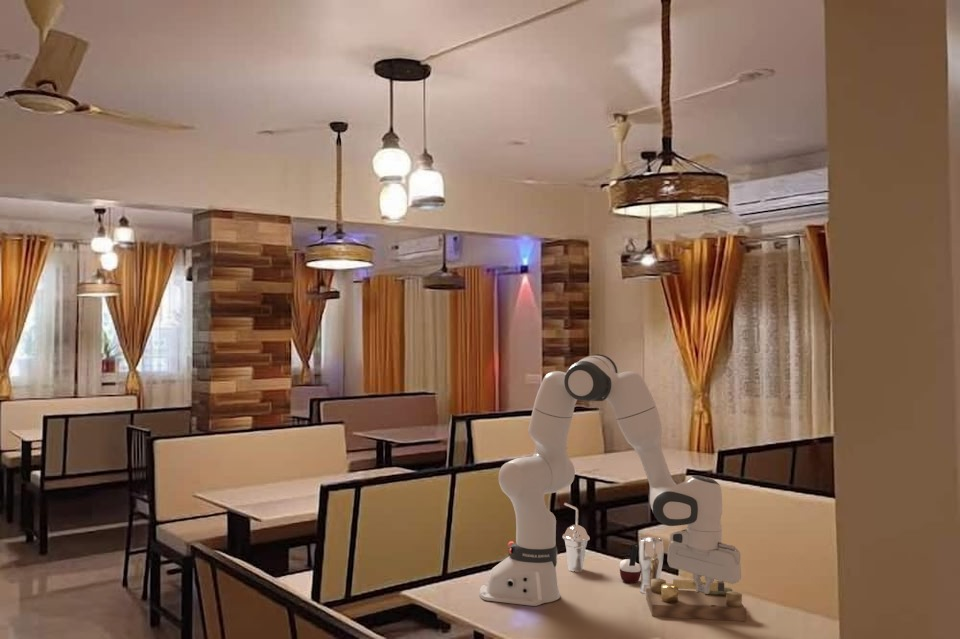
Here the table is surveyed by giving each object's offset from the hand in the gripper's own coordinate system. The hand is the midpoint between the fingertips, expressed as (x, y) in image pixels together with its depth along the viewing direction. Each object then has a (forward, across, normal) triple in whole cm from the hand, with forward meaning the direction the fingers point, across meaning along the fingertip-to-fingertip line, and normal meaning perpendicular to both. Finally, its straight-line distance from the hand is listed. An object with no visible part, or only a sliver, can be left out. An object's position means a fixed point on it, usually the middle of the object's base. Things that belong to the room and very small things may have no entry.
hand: (702, 592), depth 214 cm
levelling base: (+7, +6, -4) cm, 10 cm away
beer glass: (+7, +22, -8) cm, 25 cm away
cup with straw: (+7, +51, -8) cm, 52 cm away
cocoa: (+7, +32, -11) cm, 35 cm away
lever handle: (+4, +4, -2) cm, 6 cm away
